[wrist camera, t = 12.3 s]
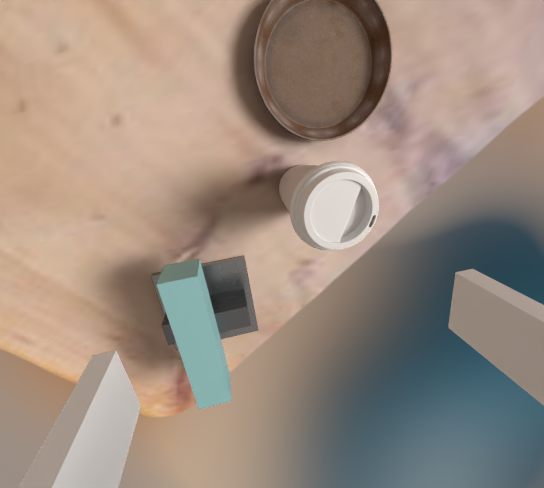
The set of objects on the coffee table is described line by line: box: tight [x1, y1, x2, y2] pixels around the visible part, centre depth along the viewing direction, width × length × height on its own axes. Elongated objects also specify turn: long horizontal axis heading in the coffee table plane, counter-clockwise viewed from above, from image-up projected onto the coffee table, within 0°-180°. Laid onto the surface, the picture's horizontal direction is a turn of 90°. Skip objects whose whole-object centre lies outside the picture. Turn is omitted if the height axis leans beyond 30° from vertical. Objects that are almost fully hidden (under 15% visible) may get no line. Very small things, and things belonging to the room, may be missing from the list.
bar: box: [157, 259, 231, 409], centre depth 37 cm, size 4×20×5 cm, turn 8°
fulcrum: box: [151, 256, 258, 350], centre depth 43 cm, size 14×14×6 cm
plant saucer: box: [254, 0, 392, 141], centre depth 35 cm, size 18×18×3 cm
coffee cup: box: [279, 161, 379, 250], centre depth 34 cm, size 10×10×15 cm
